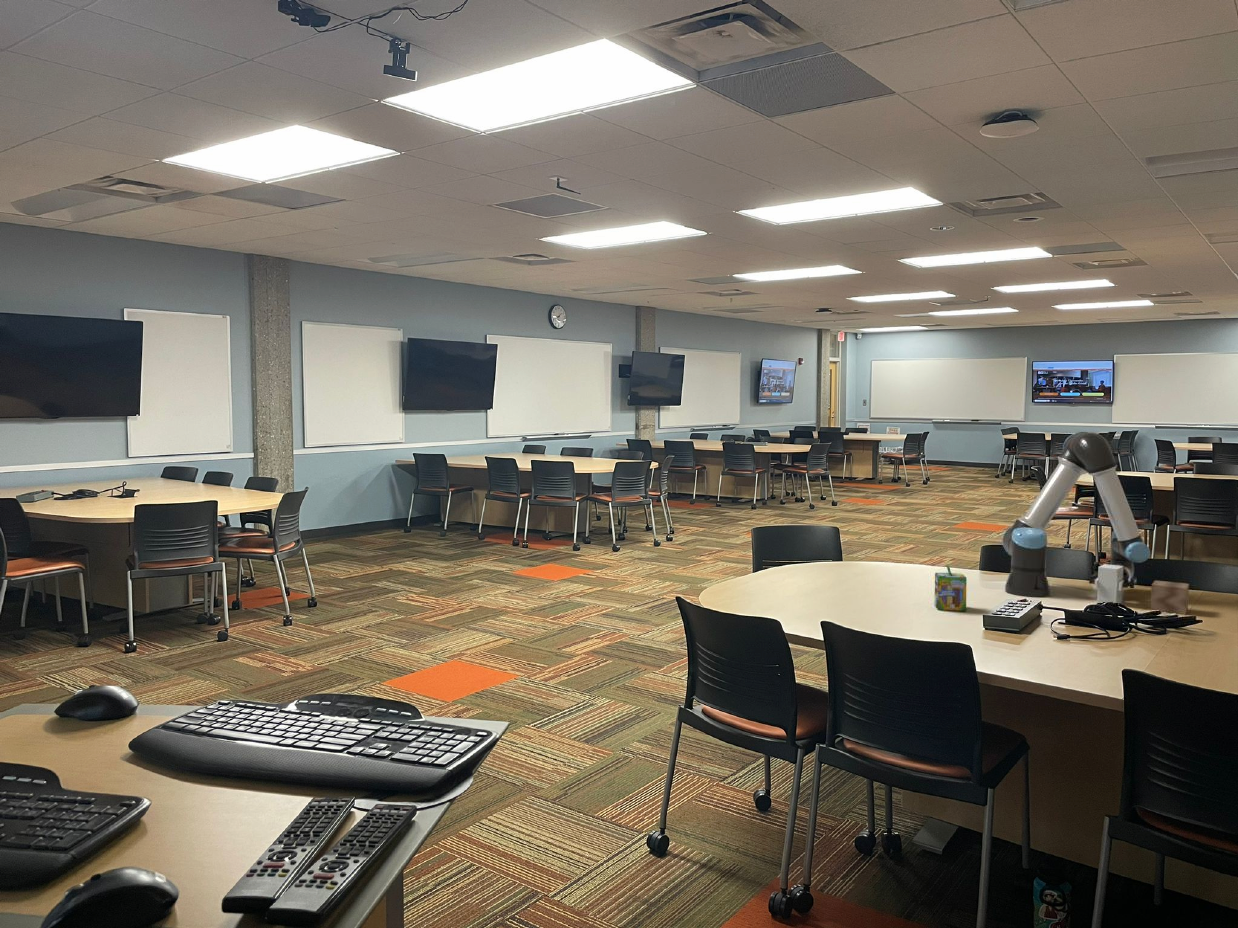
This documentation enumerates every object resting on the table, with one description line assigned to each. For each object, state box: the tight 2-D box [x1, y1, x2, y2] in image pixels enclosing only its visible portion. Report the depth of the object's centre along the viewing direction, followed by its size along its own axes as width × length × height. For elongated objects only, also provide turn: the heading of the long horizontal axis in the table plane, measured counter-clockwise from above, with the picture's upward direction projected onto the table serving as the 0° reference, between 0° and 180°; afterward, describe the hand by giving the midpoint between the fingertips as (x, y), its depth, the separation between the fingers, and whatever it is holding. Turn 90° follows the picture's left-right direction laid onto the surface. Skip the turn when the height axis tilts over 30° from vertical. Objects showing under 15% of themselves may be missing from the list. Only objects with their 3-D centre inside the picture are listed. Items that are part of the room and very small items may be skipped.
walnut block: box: [1149, 580, 1190, 616], centre depth 307 cm, size 10×10×9 cm
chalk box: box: [933, 563, 967, 612], centre depth 306 cm, size 9×9×15 cm
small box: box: [1096, 563, 1123, 604], centre depth 317 cm, size 8×6×13 cm
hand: (1107, 585), depth 313 cm, fingers closed on small box, 7 cm apart
